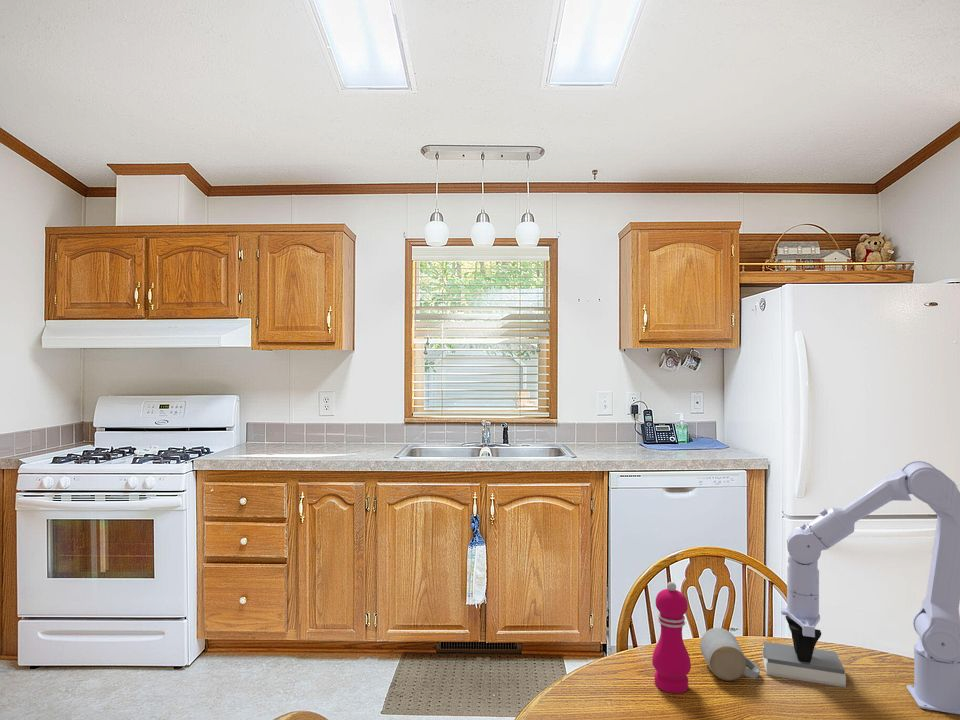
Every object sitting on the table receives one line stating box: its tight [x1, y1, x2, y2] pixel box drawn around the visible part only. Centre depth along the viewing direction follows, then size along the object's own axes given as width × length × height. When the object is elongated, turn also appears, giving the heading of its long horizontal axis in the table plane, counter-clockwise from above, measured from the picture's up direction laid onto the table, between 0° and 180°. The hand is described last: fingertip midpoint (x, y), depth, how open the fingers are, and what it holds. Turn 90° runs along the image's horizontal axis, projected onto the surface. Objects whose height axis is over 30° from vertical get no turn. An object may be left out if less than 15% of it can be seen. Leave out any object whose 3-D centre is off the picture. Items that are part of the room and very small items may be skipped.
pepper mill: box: [651, 581, 692, 694], centre depth 119 cm, size 7×7×20 cm
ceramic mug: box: [699, 627, 761, 682], centre depth 123 cm, size 11×8×8 cm
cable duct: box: [762, 645, 847, 688], centre depth 124 cm, size 14×8×2 cm, turn 70°
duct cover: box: [763, 641, 846, 674], centre depth 124 cm, size 14×8×1 cm, turn 70°
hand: (802, 658), depth 123 cm, fingers closed on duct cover, 3 cm apart
